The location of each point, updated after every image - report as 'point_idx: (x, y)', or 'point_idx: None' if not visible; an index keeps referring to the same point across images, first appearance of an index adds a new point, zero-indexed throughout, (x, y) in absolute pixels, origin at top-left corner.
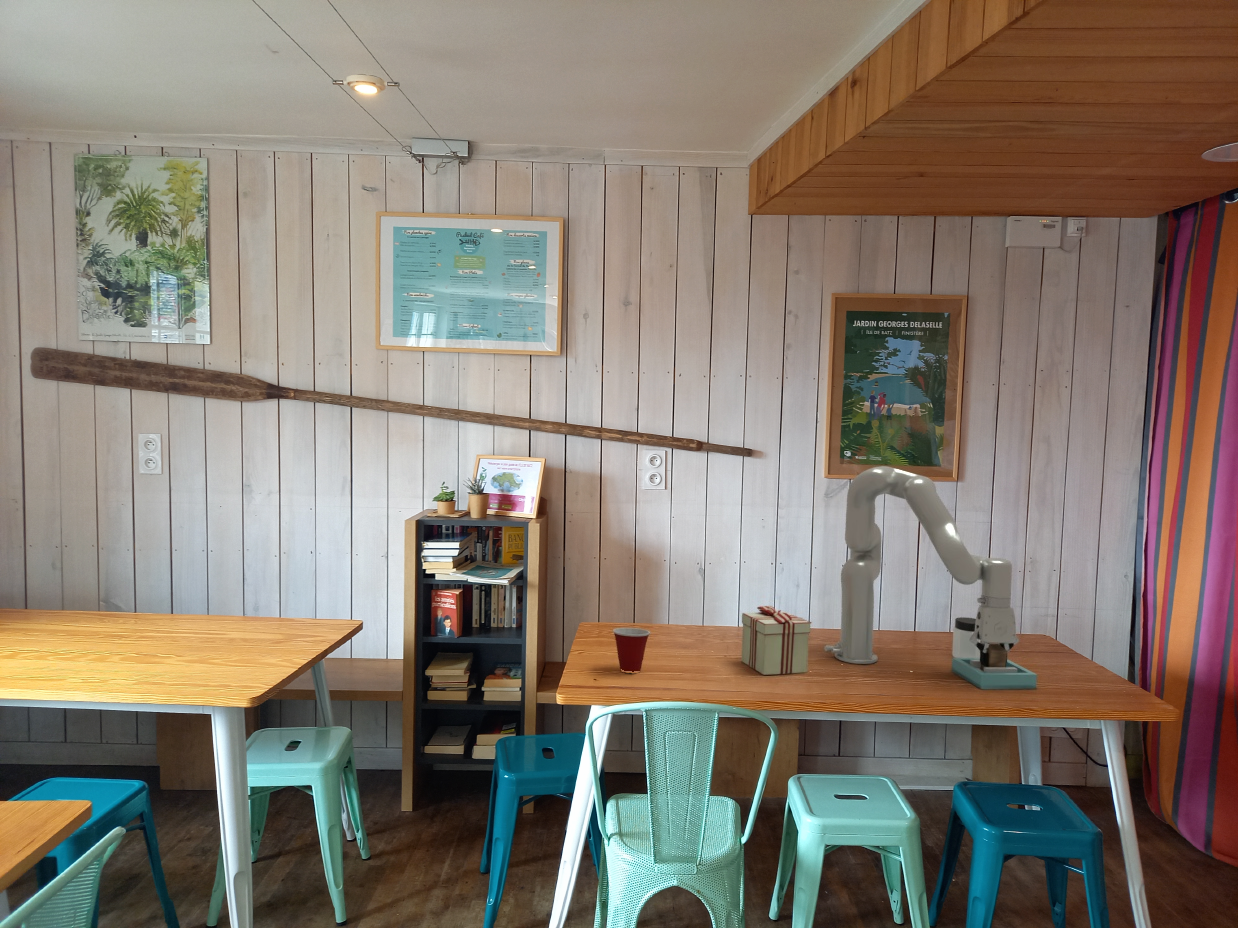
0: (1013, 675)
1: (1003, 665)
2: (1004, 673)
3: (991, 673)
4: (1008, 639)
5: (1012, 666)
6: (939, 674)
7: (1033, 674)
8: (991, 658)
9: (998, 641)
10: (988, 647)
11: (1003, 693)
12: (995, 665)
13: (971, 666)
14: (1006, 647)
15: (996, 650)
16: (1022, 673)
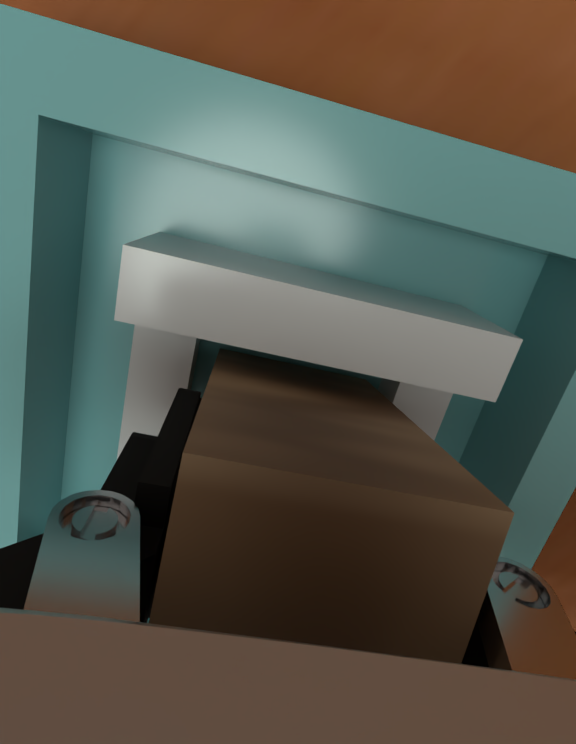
0: (320, 101)
1: (233, 379)
2: (398, 182)
3: (555, 230)
4: (46, 737)
5: (33, 436)
6: (562, 567)
7: (9, 10)
8: (436, 444)
9: (462, 696)
10: (453, 643)
11: (514, 30)
12: (336, 399)
13: (527, 488)
14: (102, 569)
15: (408, 507)
16: (150, 107)
